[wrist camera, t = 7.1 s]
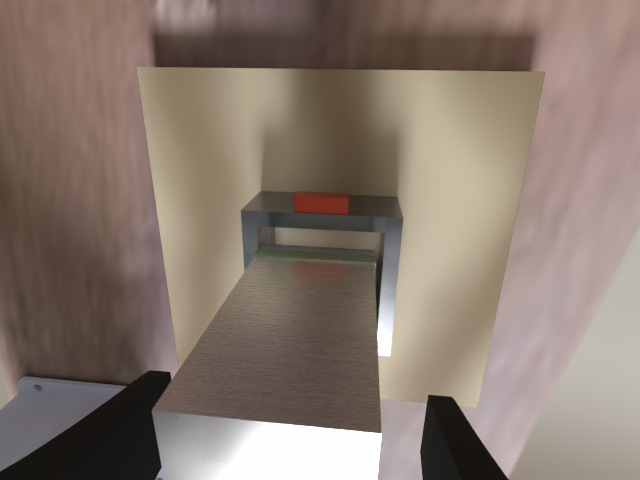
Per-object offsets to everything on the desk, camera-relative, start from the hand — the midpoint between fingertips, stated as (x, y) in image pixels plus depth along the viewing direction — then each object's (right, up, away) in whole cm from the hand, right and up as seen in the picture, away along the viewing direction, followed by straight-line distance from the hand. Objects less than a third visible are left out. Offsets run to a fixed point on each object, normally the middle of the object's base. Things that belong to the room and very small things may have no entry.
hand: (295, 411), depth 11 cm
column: (+1, +3, +4) cm, 5 cm away
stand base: (+1, +5, +9) cm, 10 cm away
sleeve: (+1, +4, +7) cm, 9 cm away
